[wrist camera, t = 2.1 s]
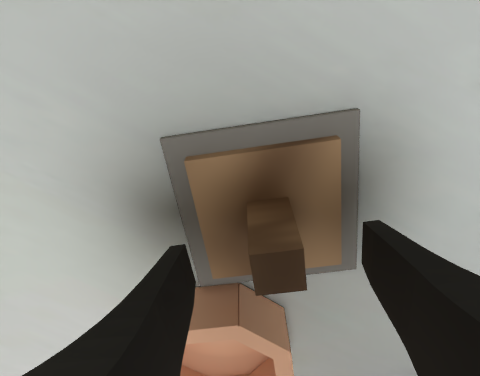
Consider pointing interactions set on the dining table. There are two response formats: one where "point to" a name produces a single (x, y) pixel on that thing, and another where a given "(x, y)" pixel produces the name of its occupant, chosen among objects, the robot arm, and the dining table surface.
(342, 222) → the mat
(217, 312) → the octagonal copper pot
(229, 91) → the dining table surface
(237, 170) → the lid
